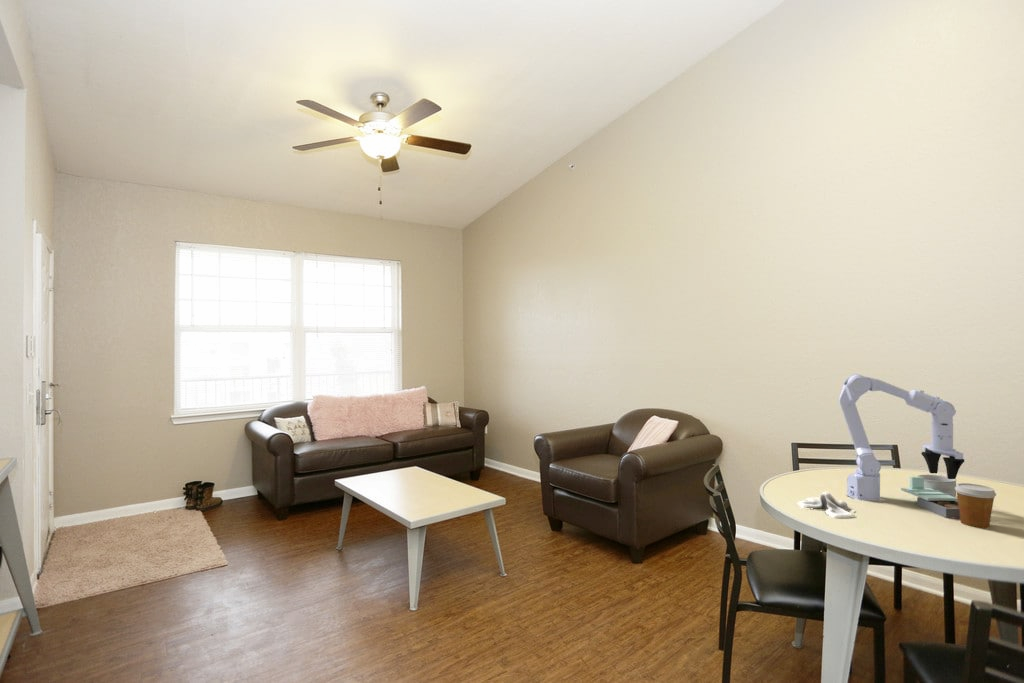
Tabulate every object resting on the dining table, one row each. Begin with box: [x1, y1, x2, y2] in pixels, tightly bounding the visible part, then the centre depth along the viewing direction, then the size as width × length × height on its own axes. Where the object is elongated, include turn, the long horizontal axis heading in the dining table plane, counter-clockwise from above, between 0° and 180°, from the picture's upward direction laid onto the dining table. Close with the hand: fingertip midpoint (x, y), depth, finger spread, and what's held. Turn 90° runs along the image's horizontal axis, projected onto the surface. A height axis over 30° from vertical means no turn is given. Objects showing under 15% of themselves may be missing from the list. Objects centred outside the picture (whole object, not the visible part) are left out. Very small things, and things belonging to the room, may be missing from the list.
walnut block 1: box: [932, 501, 950, 507], centre depth 175 cm, size 4×4×3 cm
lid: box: [900, 476, 958, 501], centre depth 180 cm, size 12×10×5 cm
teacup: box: [916, 474, 957, 497], centre depth 189 cm, size 14×11×8 cm
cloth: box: [797, 491, 857, 519], centre depth 178 cm, size 22×19×6 cm
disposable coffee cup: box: [955, 482, 997, 529], centre depth 161 cm, size 10×10×12 cm
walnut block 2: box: [944, 504, 959, 508], centre depth 170 cm, size 4×4×3 cm
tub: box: [916, 496, 960, 519], centre depth 173 cm, size 12×10×4 cm
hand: (942, 475), depth 179 cm, fingers open, 7 cm apart
